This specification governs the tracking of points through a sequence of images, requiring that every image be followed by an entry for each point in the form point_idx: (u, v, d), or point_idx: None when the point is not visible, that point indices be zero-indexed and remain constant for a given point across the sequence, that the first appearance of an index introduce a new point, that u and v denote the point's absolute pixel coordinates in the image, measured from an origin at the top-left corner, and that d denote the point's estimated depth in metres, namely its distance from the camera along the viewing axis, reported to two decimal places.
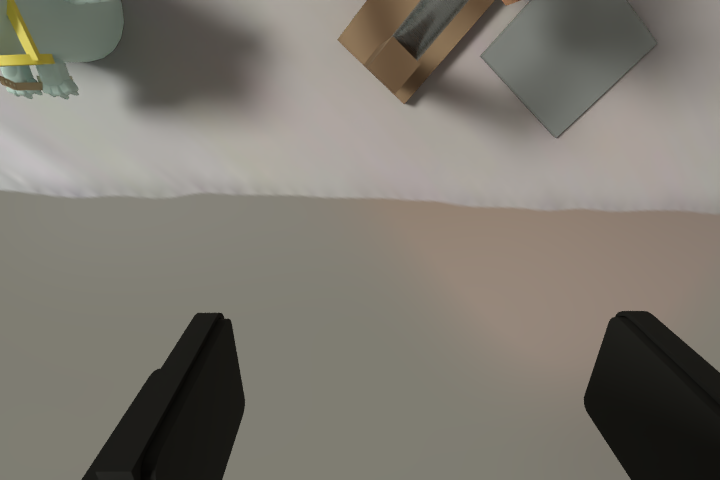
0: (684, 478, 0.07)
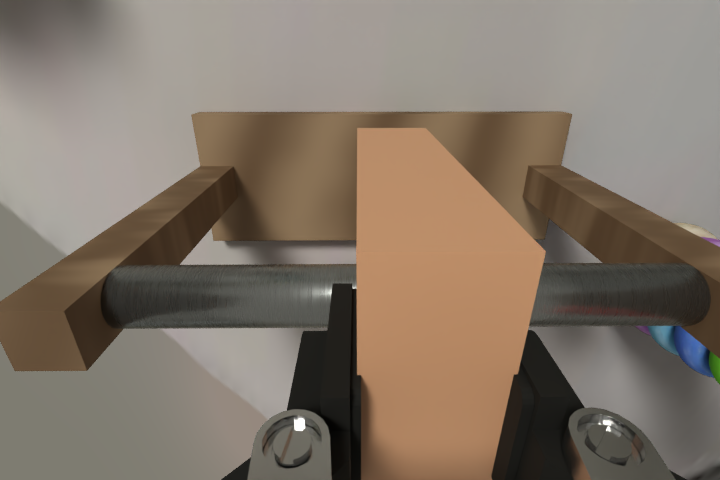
0: None
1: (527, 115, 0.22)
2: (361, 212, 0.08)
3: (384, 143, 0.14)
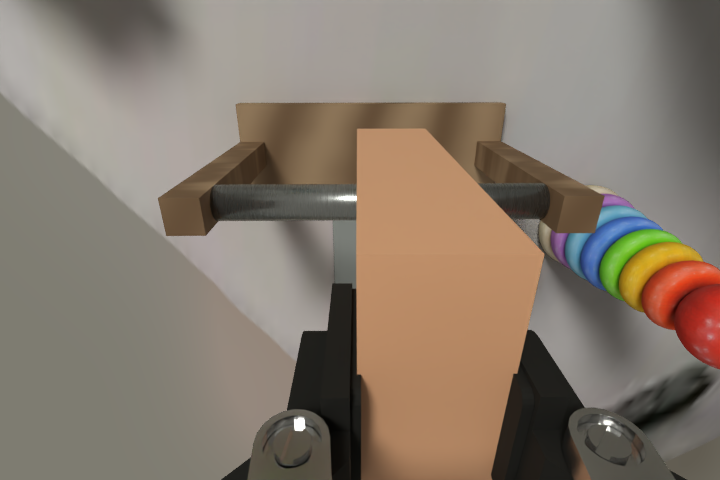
0: None
1: (474, 104, 0.32)
2: (361, 214, 0.08)
3: (384, 144, 0.14)
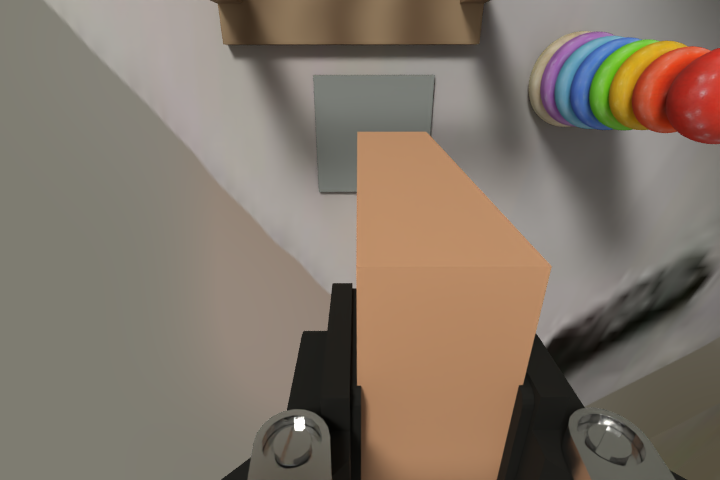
0: None
1: None
2: (361, 223, 0.07)
3: (384, 148, 0.14)
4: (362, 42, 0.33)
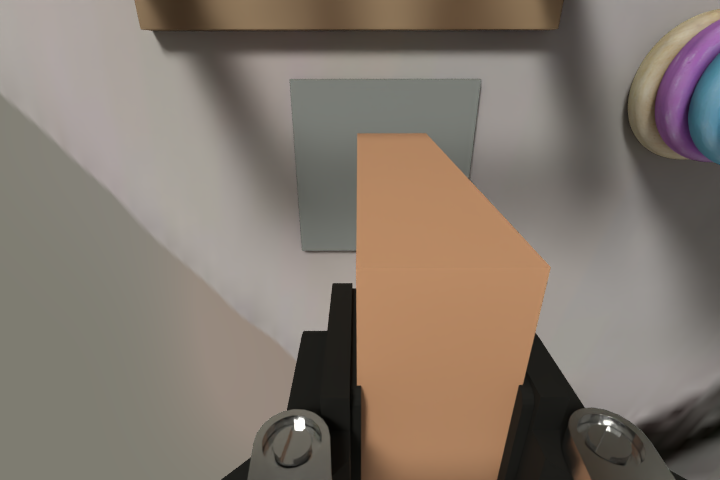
0: None
1: None
2: (361, 225, 0.08)
3: (384, 149, 0.14)
4: (367, 26, 0.20)
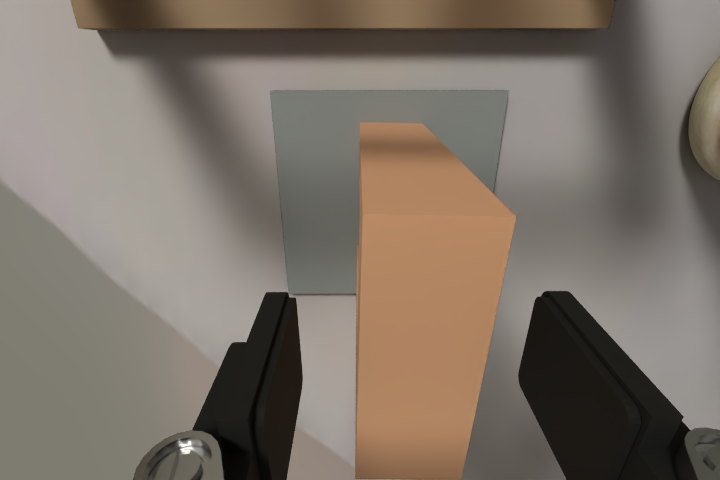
0: (583, 437, 0.08)
1: None
2: (365, 187, 0.09)
3: (384, 135, 0.15)
4: (367, 24, 0.16)
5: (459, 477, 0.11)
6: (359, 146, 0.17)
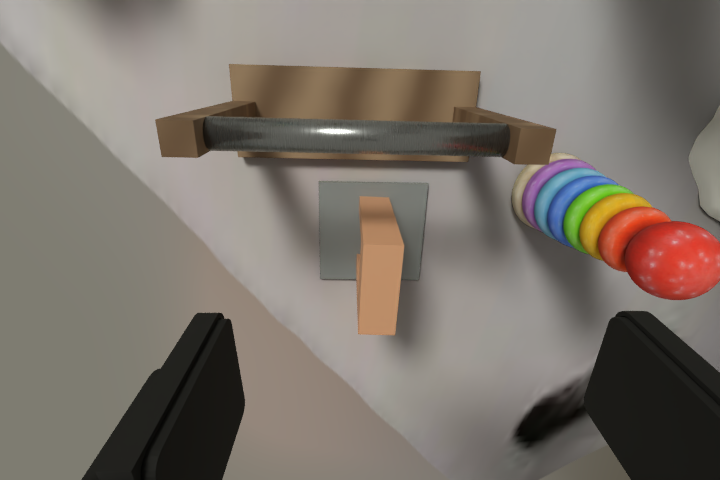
0: (684, 477, 0.07)
1: (451, 71, 0.34)
2: (363, 235, 0.30)
3: (370, 207, 0.36)
4: (364, 158, 0.37)
5: (394, 334, 0.31)
6: None
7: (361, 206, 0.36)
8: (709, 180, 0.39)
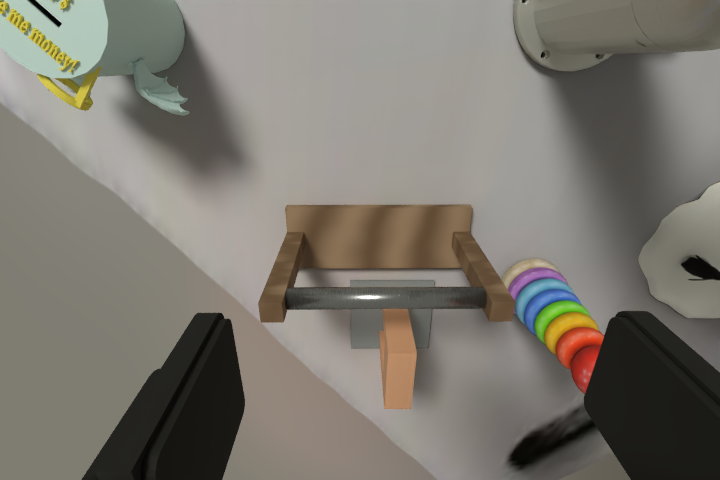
0: (685, 478, 0.07)
1: (450, 208, 0.45)
2: (387, 342, 0.42)
3: None
4: (385, 267, 0.49)
5: (410, 408, 0.44)
6: None
7: None
8: (654, 277, 0.50)
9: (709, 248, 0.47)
